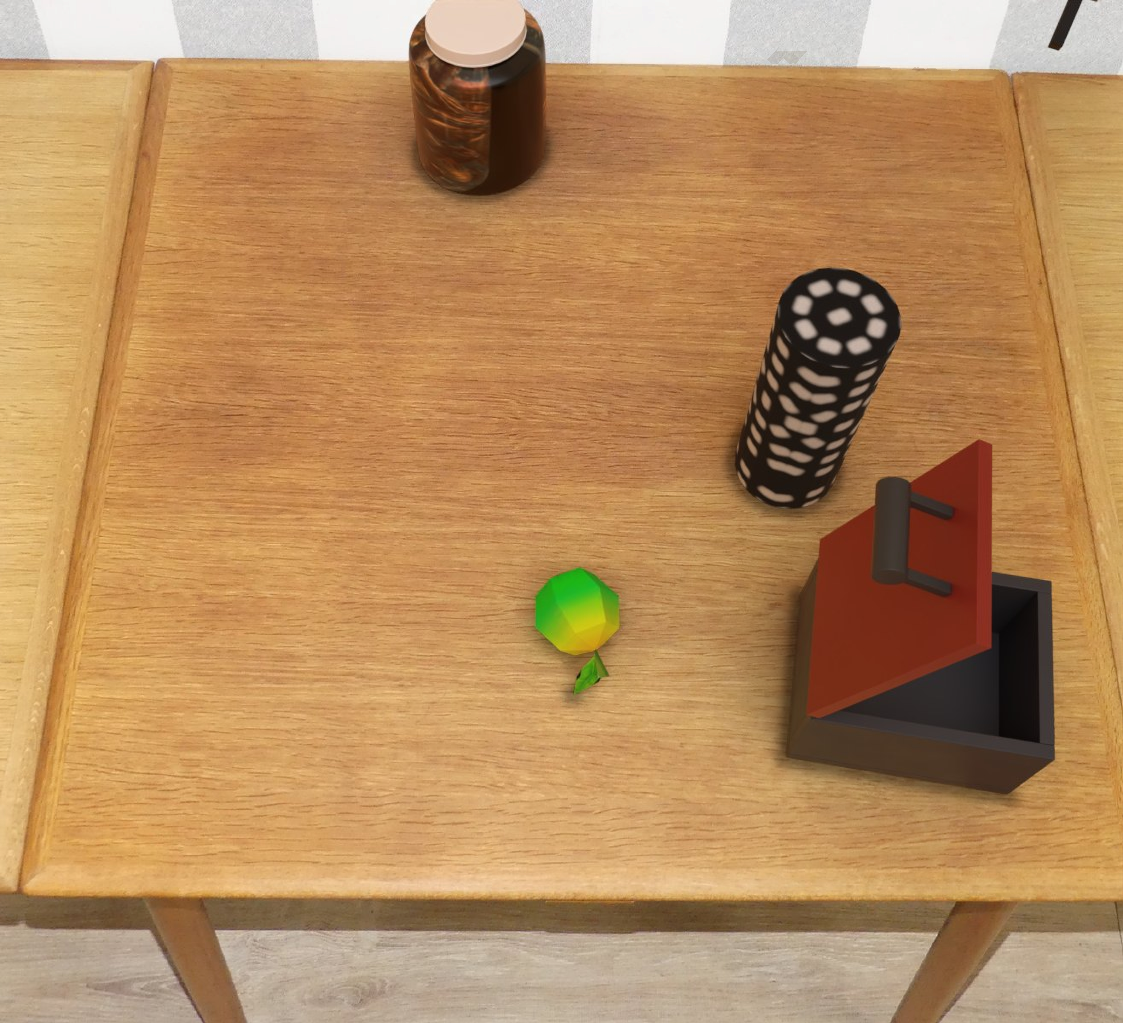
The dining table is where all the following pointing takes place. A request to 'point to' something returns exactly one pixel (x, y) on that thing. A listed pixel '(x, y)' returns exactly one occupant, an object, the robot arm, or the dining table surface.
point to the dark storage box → (946, 704)
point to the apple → (578, 618)
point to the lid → (905, 584)
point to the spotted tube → (815, 384)
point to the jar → (478, 94)
